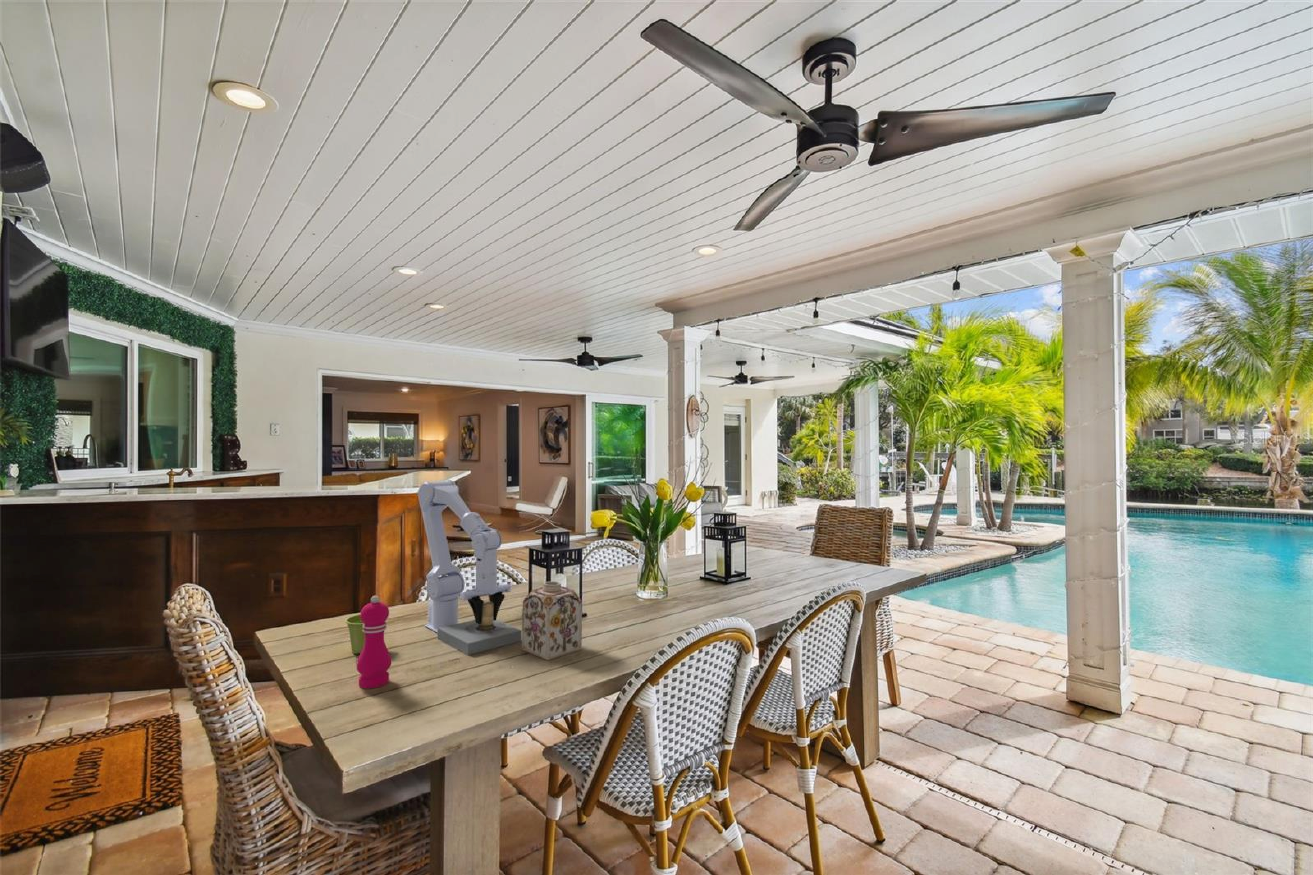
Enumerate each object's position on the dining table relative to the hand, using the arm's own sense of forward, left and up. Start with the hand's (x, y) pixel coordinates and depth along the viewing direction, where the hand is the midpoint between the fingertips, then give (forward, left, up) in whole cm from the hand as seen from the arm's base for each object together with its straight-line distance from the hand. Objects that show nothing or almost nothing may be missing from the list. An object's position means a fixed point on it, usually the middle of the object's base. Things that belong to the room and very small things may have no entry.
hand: (485, 621), depth 167 cm
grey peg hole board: (0, -2, -5) cm, 5 cm away
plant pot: (-13, -28, -5) cm, 31 cm away
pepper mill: (+11, -34, -5) cm, 36 cm away
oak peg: (0, 0, -4) cm, 4 cm away
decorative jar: (+21, +8, -5) cm, 23 cm away
